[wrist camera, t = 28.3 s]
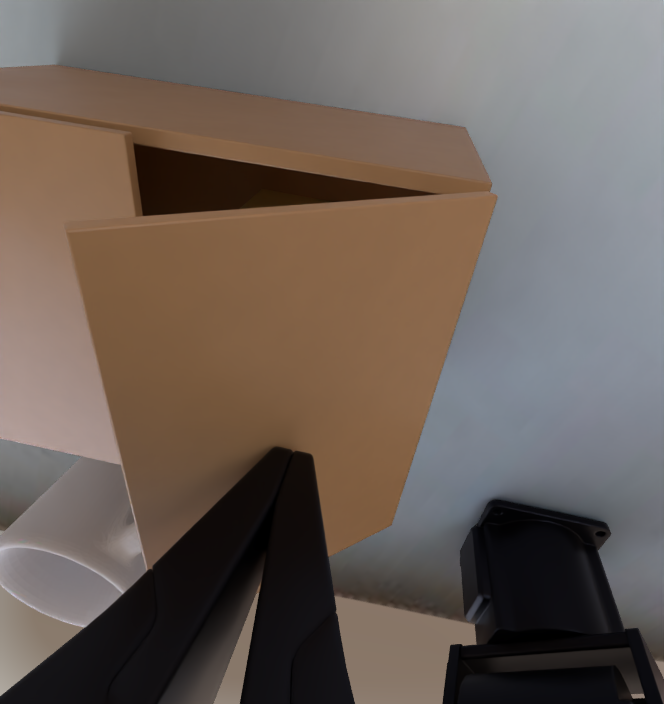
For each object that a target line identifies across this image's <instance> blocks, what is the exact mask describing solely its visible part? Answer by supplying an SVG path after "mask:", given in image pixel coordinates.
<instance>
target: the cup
mask: <svg viewBox="0 0 664 704" xmlns="http://www.w3.org/2000/svg"><path fill="white" fill-rule="evenodd" d="M145 572H146V568H145V563H144V559H143V555H142V551H141V547H140V543H139V538H138V534H137V530H136V526H135V522H134V518H133V513H132V509H131V505H130V501H129V497H128V493H127V489H126V484H125V480H124V476H123V472H122V468H121V465H119V464H114V463H110V462H105V461H101V460H96V459H91V458H87V457H81V458H80V459H79V460H77V461H76V462H75V463H74V464H73V465H72V466H71V467H70V468H69V469H68V470H67V471H66V472H65V473H64V474H63V475H62V476H61V477H60V478H59V479H58V480H57V481H56V482H55V483H54V484H53V485H52V486H51V487H50V488H49V489H48V490H47V491H46V492H45V493H44V494H43V495H42V496H41V497H39V498H38V499H37V500H36V501H35V502H34V503H33V504H32V505H31V506H30V507H29V508H28V509H27V510H26V511H25V512H24V513H23V514H22V515H21V516H20V517H19V518H18V519H17V520H16V521H15V522H14V523H13V524H12V525H11V526H10V527H9V528H8V529H7V530H6V531H5V532H4V533H3V534H2V535H0V585H1V586H2V587H3V588H4V589H5V590H7V591H8V592H9V593H10V594H12V595H13V596H14V597H16V598H17V599H18V600H20V601H22V602H23V603H25V604H27V605H28V606H30V607H32V608H34V609H36V610H37V611H39V612H41V613H43V614H46V615H48V616H50V617H53V618H55V619H58V620H61V621H64V622H66V623H70V624H73V625H77V626H81V627H86V626H87V625H88V624H90V623H91V622H92V621H93V620H94V619H95V618H97V617H98V616H99V615H100V614H101V613H103V612H104V611H105V610H106V609H107V608H108V607H109V606H110V605H112V604H113V603H114V602H115V601H116V600H117V599H118V598H119V597H120V596H121V595H122V594H123V593H124V592H125V591H127V590H128V589H129V588H130V587H131V586H132V585H133V584H134V583H135V582H136V581H137V580H138V579H139V578H140V577H141V576H142V575H143V574H144V573H145Z"/></svg>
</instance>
